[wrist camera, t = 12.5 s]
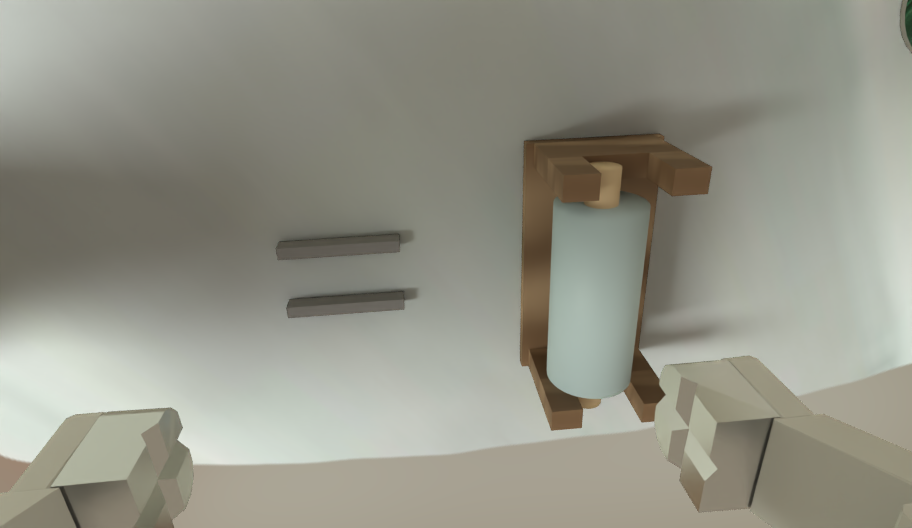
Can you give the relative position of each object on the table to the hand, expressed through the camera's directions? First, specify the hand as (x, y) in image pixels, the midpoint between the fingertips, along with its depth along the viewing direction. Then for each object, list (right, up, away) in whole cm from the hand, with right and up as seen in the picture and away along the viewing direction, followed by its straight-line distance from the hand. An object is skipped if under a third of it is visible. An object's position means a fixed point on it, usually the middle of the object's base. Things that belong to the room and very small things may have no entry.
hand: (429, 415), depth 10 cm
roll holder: (+10, +3, +31) cm, 33 cm away
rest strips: (-7, +2, +30) cm, 31 cm away
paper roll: (+9, +1, +26) cm, 28 cm away
